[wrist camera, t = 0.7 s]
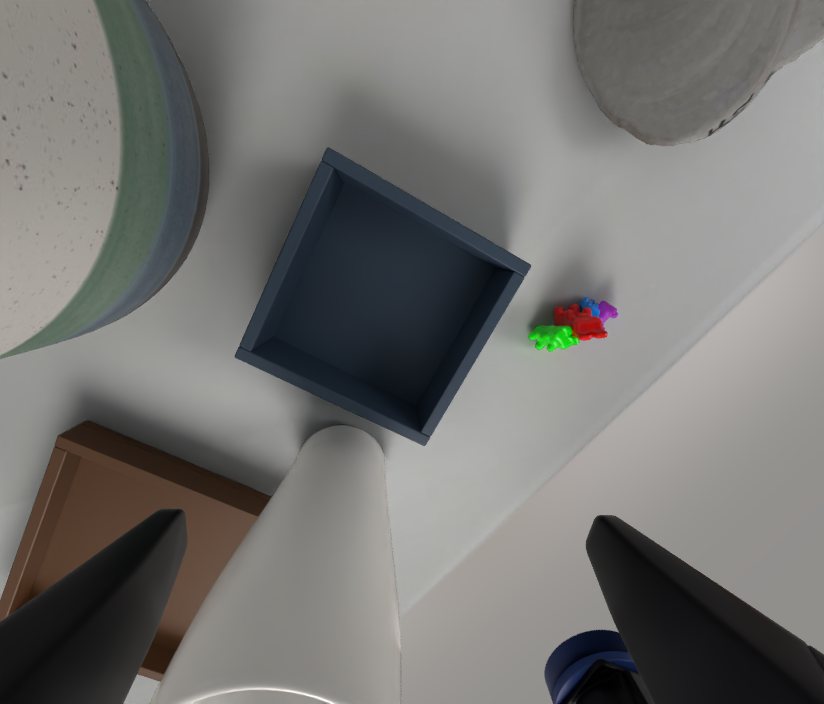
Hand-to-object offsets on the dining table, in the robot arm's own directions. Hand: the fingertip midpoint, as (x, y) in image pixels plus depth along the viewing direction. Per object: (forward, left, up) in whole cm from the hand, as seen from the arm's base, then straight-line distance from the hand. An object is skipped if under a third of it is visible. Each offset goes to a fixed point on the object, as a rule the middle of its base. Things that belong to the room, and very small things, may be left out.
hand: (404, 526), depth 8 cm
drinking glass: (-8, 0, -15) cm, 16 cm away
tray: (-19, +8, -14) cm, 25 cm away
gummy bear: (+6, -8, -15) cm, 18 cm away
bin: (+2, +2, -14) cm, 15 cm away
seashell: (+21, -4, -15) cm, 26 cm away
